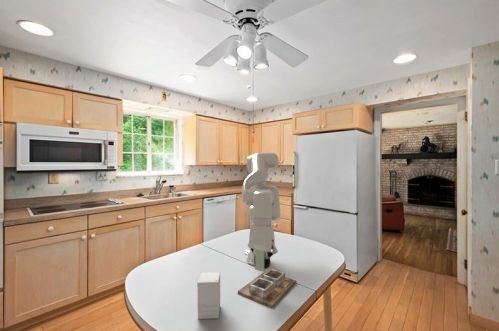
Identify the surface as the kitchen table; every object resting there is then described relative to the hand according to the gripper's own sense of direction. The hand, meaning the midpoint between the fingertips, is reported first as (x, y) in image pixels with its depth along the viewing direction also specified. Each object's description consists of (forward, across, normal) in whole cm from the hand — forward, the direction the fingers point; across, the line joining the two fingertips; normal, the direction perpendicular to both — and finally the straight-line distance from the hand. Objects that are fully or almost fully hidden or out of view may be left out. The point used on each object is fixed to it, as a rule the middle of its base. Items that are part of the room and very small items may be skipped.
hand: (262, 265), depth 92 cm
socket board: (+11, 0, +5) cm, 13 cm away
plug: (+1, 0, 0) cm, 1 cm away
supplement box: (+12, -9, -21) cm, 26 cm away
